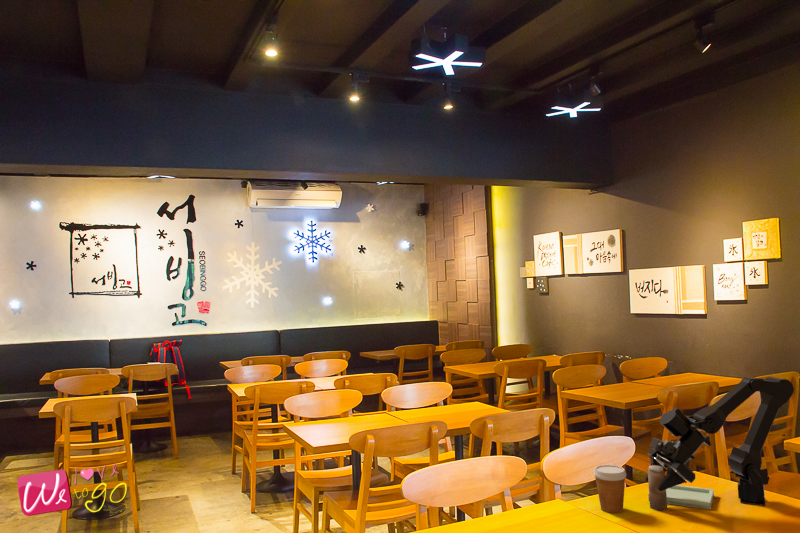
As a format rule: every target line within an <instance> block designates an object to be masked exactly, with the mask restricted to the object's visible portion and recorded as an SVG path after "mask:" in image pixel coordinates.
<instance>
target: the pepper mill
mask: <svg viewBox="0 0 800 533" xmlns="http://www.w3.org/2000/svg"><path fill="white" fill-rule="evenodd" d="M647 474H648V482H647V483H648V484H647V485H648V495H649V496H648V500H649V499H650V501H649V508H650V509H652V510H654V511H658V512H660V511H667V510H668V504H667V496H666V490H663V491H659V490H658V487H659V485H660V484H661V482H662V481H663V479H664V478H665V476H666V472H665V471H664V470H663V467H661V466H657V465H652V466H651V465H649V466H648V469H647Z"/></svg>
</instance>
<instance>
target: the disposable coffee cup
mask: <svg viewBox="0 0 800 533" xmlns="http://www.w3.org/2000/svg"><path fill="white" fill-rule="evenodd" d="M592 474H593V475H594V477H595V478H594V479H595V483H596V490H597V493H598V499H599V500H598V501H599V504H600V505H599V506H600V510H601V511H603V512H605V513H610V514H618V513H619V514H620V513H622V512H623V511H624V500H625V487H626V486H625V485H626V484H625V483H626V478H627V472H626V470H625V468H623V466H619V465H614V464H600V465H597V466H595V467H594V470H593V472H592Z"/></svg>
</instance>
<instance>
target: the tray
mask: <svg viewBox="0 0 800 533" xmlns="http://www.w3.org/2000/svg"><path fill="white" fill-rule="evenodd" d="M714 490H715V489H712V488H705V487H697V486H690V485H689V486H687V485H682V484H679V485H676V486H673V487H671V488H668V489H666V496H667V505H673V506H682V507H689V508H696V509H703V510H709V511H710V510H711V509H712V505H713V502H714V498H715V491H714ZM647 496H648V497H649V494H647ZM648 502H650V499H649V498H648Z"/></svg>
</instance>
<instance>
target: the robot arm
mask: <svg viewBox="0 0 800 533" xmlns="http://www.w3.org/2000/svg"><path fill="white" fill-rule="evenodd" d="M757 392H759V395H760V404H759V406H758V408H757V411H756V413H755V415H754V418H753V420H752V422H751V424H750V426H749V427H750V428H749V430H748V432H747V435H746V437H745V439H744V440H743V443H742V445H740V446H739V447H737V446H735V445H734V446H733V447H732V448H731V453H730V454H729V456H728V457H727V458H728V459H729V460H728V467H729V469H730V470H731V471H732V472H733V474H734V476H735V478H739V479H738V480H739V481H738V483H737V495H738V500H739V502H740V503H742V504H749V505H758V506H766V503H767V502H766V499H767V498H766V497H765V496H766V495H765V494H766V493H765V485H768V484H769V481H770V476H768V475H767V474H766V473H765V472H764V471H763V470H762V464H763V459H762V450H763V448H764V445H765V443H766V440H767V438H768V436H769V433H770V432H771V428H772V426H773V424H774V422H775V420H776V418H777V415H778V413H779V410H780V409H781V408H782V407H783V406H785V405H786V404H787V403H788V402H789V401H790V400H791V397H792V396H793V395H794V392H795V387H794V385H793V383H792V382H791V381H790V380H789V379H786V378H781V377H776V376H768V377H765V378H759V377H757V378H756V377H751V376H745V377H743V378H741V380H740V382H738V383H737V384H736V385H735V386H734V387H733V388H731V389H730V390H729V391H728V392H727V393H726V394H724V395H723V396H722V397H721V398H719V400H717V401H716V402H715V403H713V404H712V405H708V406H705V407H703V408H701V409H700V410H698V411H696V412H695V413H694V414H693V415H692V414H691V415H688V416H686V415H685V414H683V412H682V411H681V409H679V408H678V407H673V408H672V409H671V410H668V411H666V412H665V413H663V414H662V415H661V417H660V419H659V423H660V425H662V426H663V427H664V428H665V429H666V430H667V431H668V432H669V433H670V434H671V435H672V436H673V437H678V438H677V440H676V441H674V440H672V441H671V440H670V441H669V440H667V439H665V440H664V441H663V440H661V439H659V438H657V437H652V439H651V441H650V445H649V448H650V449H649V450H648V451H647V454H648V456H649V460H650V466H652V465H657V466H661V467H663V470H664V471H665V473H666V474H665V478H664V479H663V481H662V482H661V484H660V485H659V487H658V490H659V491H663V490H666V489H668V488H671V487H673V486H676V485H682V484H687V483H688V482H689V483H690V484H693V482H694V481H695V480H696V479H697V478H696V473H695V472H694V471H693V470H691V469H690V468H689V466H687V463H688V461H689V460H692V461H693V460H694V459H695V456H694V454H695V453H696V452H697V451H698V450H699V449H700V447H701V446H702V445H706V446H708V447H711V446H712V443H711V440H710V439H711V437H710V436H708V435H706V434H703V433H702V432H704V433H707V434H710V435H714V434H716V433H718V432H719V431H720V430H721V429H722V427H723V426H724V425H725V423H726V420H727V418H728V417H729V415H731V414H732V412H734V411H735V410H736V409H738V407H740V406H741V405H742V404H743V403H745V402H746V401H747V400H748V399H750V397H751V396H753V395H754V394H755V393H757ZM692 427H694V429H693V428H692ZM701 431H702V432H701ZM644 481H645V482H646V483H648V473H647V475H646V476H645V480H644Z"/></svg>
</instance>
